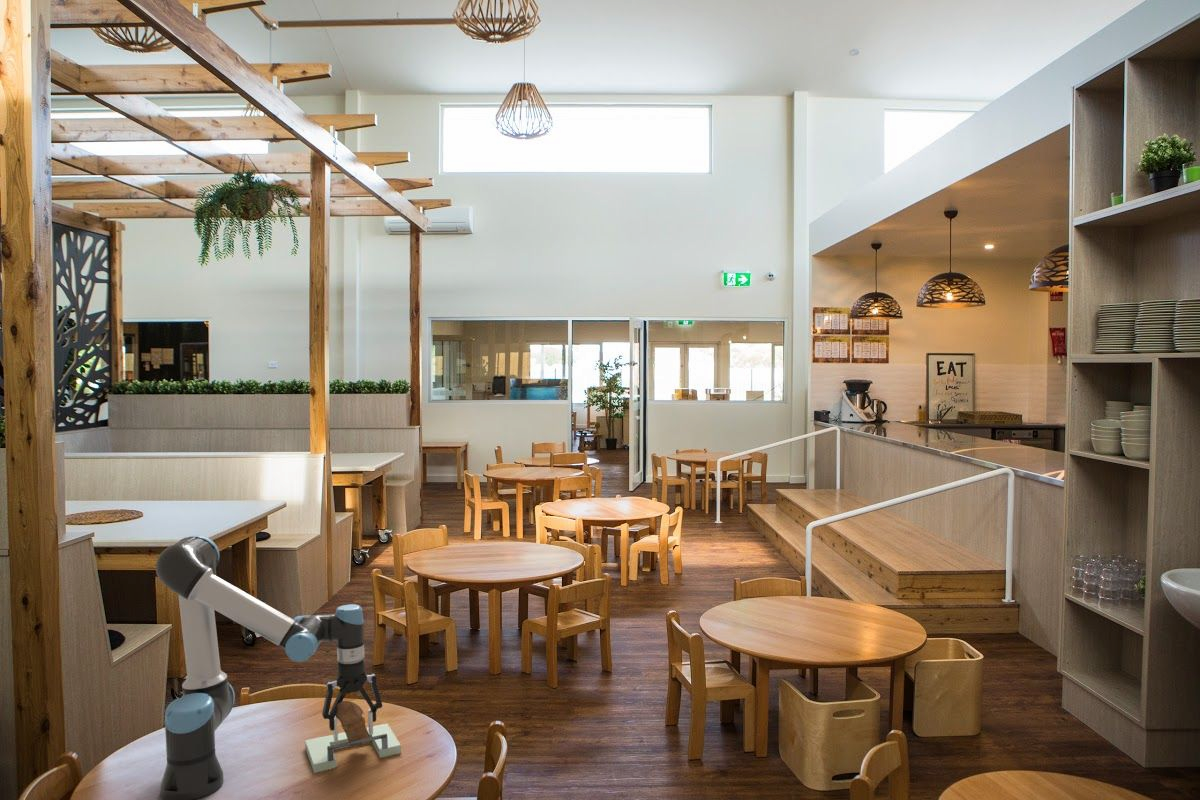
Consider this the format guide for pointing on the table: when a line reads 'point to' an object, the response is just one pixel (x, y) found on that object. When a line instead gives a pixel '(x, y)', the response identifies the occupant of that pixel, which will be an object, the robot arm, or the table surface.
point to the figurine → (352, 722)
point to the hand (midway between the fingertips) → (353, 736)
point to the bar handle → (330, 748)
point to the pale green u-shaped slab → (319, 746)
